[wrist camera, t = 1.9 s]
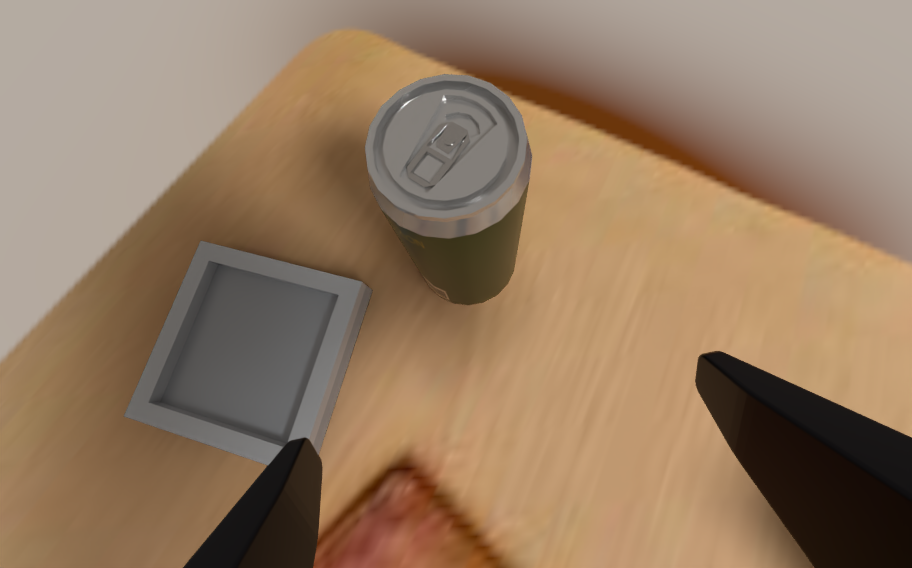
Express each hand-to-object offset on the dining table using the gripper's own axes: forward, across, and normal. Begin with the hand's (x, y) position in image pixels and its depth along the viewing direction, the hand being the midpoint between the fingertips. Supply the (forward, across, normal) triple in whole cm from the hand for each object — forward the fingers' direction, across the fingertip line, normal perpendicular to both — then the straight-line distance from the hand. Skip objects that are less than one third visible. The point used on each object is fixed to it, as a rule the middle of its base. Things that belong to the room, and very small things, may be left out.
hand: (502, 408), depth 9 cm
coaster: (+13, +12, +6) cm, 19 cm away
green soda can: (+15, 0, +4) cm, 15 cm away
